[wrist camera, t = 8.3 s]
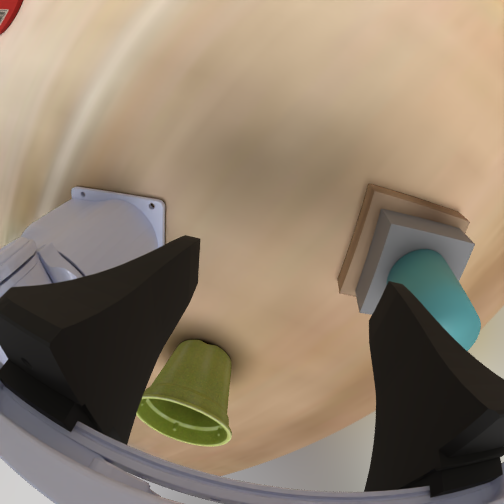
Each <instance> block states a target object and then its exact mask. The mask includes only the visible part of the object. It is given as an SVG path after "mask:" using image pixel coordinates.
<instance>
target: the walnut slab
mask: <svg viewBox="0 0 504 504" xmlns="http://www.w3.org/2000/svg"><path fill="white" fill-rule="evenodd" d="M381 209H386V210H390V211H394V212H399V213H403V214H407V215H411V216H415V217H419V218H423V219H427V220H431V221H435V222H439V223H442V224H446V225H450V226H453V227H457V228H460V229H461V230H462V231H463V232H464V233H466V230H467V228H468V225H469V223H470V222H469V221H468V220H467V219H466V218H465V217H464V216H463V215H461V214H460V213H459V212H456V211H454V210H451V209H448V208H445V207H442V206H440V205H437V204H434V203H431V202H428V201H425V200H422V199H419V198H416V197H413V196H409V195H406V194H403V193H400V192H396V191H393V190H390V189H386V188H383V187H379V186H376V185H372V184H368V188H367V191H366V195H365V198H364V202H363V205H362V208H361V212H360V215H359V218H358V221H357V225H356V228H355V231H354V234H353V237H352V240H351V243H350V246H349V249H348V252H347V255H346V258H345V261H344V264H343V266H342V269H341V272H340V275H339V278H338V286H339V293H340V294H345V295H350V296H355V297H356V293H355V290H356V287H357V284H358V281H359V278H360V276H361V273H362V270H363V267H364V264H365V261H366V257H367V254H368V251H369V248H370V245H371V242H372V238H373V235H374V232H375V228H376V225H377V221H378V218H379V214H380V210H381Z"/></svg>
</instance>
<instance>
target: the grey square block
mask: <svg viewBox="0 0 504 504" xmlns="http://www.w3.org/2000/svg"><path fill="white" fill-rule="evenodd" d="M474 245H475V244H474V243H473V242H472V241H471V240H470V239H469V238H468V236H467V235H466V234H465V233H464V232H463V231H462V230H461V229H460V228H457V227H453V226H450V225H446V224H442V223H439V222H435V221H431V220H427V219H423V218H419V217H415V216H411V215H407V214H403V213H399V212H394V211H390V210H386V209H381V210H380V214H379V218H378V221H377V225H376V228H375V232H374V235H373V238H372V242H371V245H370V248H369V251H368V254H367V257H366V261H365V264H364V267H363V270H362V273H361V276H360V278H359V281H358V284H357V287H356V290H355V293H356V297H357V302H358V307H359V312H360V313H365V314H373V312H374V310H375V308H376V306H377V304H378V302H379V300H380V298H381V296H382V294H383V292H384V290H385V288H386V286H387V278H388V275H389V272H390V270H391V269H392V267H393V266H394V264H395V263H396V262H397V261H398V260H399V259H400V258H402V257H403V256H404V255H406V254H408V253H410V252H412V251H415V250H420V249H429V250H433V251H436V252H438V253H439V254H440V255H442V257H443V258H444V259H445V261H446V262H447V264H448V265H449V267H450V268H451V270H452V272H453V273H454V275H455V276H456V278H457V280H458V281H459V280H460V277H461V275H462V273H463V271H464V269H465V266H466V264H467V262H468V260H469V257H470V255H471V252H472V250H473V248H474Z"/></svg>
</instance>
